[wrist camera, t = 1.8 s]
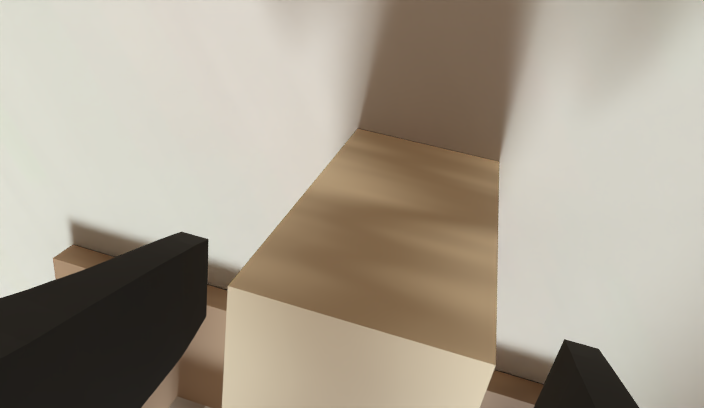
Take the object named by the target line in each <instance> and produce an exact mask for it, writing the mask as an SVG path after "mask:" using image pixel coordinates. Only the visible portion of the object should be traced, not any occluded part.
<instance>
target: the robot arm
mask: <svg viewBox="0 0 704 408" xmlns="http://www.w3.org/2000/svg"><path fill="white" fill-rule="evenodd" d="M207 274H208V239H205V238H202V237H198V236H195V235H191V234H188V233H184V232H180V233H177V234H174V235H171V236H168V237H165V238H163V239H160V240H157V241H155V242H152V243H150V244H147V245H145V246H142V247H140V248H137V249H135V250H132V251H130V252H127V253H125V254H122V255H120V256H117V257H115V258H112V259H110V260H107V261H105V262H102V263H100V264H97V265H95V266H92V267H89V268H87V269H84V270H82V271H79V272H76V273H73V274H70V275H68V276H65V277H62V278H59V279H56V280H53V281H51V282H48V283H45V284H42V285H39V286H37V287H34V288H31V289H28V290H25V291H22V292H19V293H16V294H13V295H9V296H6V297H3V298H0V408H141V407H142V406H143V405H144V404H145V402H146V401H147V400H148V399H149V397H150V396H151V395H152V394H153V392H154V391H155V390H156V389H157V388H158V386H159V385H160V384H161V382H162V381H163V380H164V379H165V377H166V376H167V375H168V374H169V372H170V371H171V370H172V369H173V367H174V366H175V365H176V364H177V362H178V361H179V360H180V358H181V357H182V356H183V354H184V353H185V351H186V349H187V348H188V346H189V345H190V343H191V341H192V340H193V338H194V337H195V335H196V333H197V331H198V330H199V328H200V326H201V325H202V323H203V321H204V320H205V318H206V314H207ZM534 408H639V407H638V405H637V404H636V402H635V401H634V399H633V398H632V396H631V395H630V394H629V392H628V391H627V389H626V388H625V386H624V385H623V383H622V382H621V380H620V379H619V377H618V376H617V375H616V373H615V372H614V370H613V369H612V367H611V366H610V364H609V363H608V361H607V360H606V359H605V357H604V356H603V354H602V353H601V352H600V350H599V349H597V348H593V347H590V346H586V345H583V344H579V343H576V342H572V341H568V340H565V339H564V341H563V344H562V346H561V348H560V350H559V352H558V355H557V357H556V359H555V361H554V363H553V366H552V368H551V370H550V372H549V375H548V377H547V379H546V381H545V383H544V386H543V388H542V390H541V392H540V395H539V397H538V399H537V401H536V403H535V406H534Z"/></svg>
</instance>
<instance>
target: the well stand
mask: <svg viewBox="0 0 704 408" xmlns="http://www.w3.org/2000/svg"><path fill="white" fill-rule="evenodd" d="M112 258H115V257H113V256H109V255H106V254H103V253H99V252H96V251H92V250H89V249H86V248H82V247H79V246H76V245H72V246H70V247H69V248H67V249H66V250H64V251H63V252H61V253H60V254H58V255H57V256H56V257H54V258H53V263H54V270H55V277H56V279H59V278H62V277H65V276H68V275H70V274H73V273H76V272H79V271H82V270H84V269H87V268H89V267H92V266H95V265H97V264H100V263H102V262H105V261H107V260H110V259H112ZM227 292H228V291H227V290H224V289H220V288H217V287H213V286H210V285H207V314H206V318H205V320H204V321H203V323H202V325H201V326H200V328H199V330H198V331H197V333H196V335H195V337H194V338H193V340H192V341H191V343H190V345H189V346H188V348H187V349H186V351H185V353H184V354H183V356H182V357H181V358H180V360H179V361H178V362H177V364H176V365H175V366H174V367H173V369H172V370H171V371H170V372H169V374H168V375H167V376H166V377H165V379H164V380H163V381H162V382H161V384H160V385H159V386H158V388H157V389H156V390H155V391H154V392H153V394H152V395H151V396H150V397H149V399H148V400H147V401H146V402H145V404H144V405H143V406H142V407H141V408H222V394H223V374H224V353H225V333H226V312H227ZM543 386H544V385H543V384H539V383H536V382H533V381H529V380H526V379H523V378H519V377H516V376H513V375H509V374H506V373H502V372H499V371H496V370H494V371H493V374H492V377H491V379H490V382H489V385H488V387H487V390H486V392H485V395H484V398H483V400H482V403H481V406H480V408H534V406H535V403H536V401H537V399H538V397H539V395H540V392H541V390H542V388H543Z"/></svg>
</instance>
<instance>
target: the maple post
mask: <svg viewBox="0 0 704 408" xmlns="http://www.w3.org/2000/svg"><path fill="white" fill-rule="evenodd" d="M498 203H499V162H498V161H494V160H490V159H486V158H481V157H477V156H473V155H469V154H464V153H460V152H456V151H452V150H447V149H443V148H439V147H434V146H430V145H426V144H422V143H417V142H413V141H409V140H405V139H400V138H396V137H392V136H388V135H383V134H379V133H375V132H370V131H366V130H362V129H357V130H356V131H355V133H354V134H353V135H352V136H351V137H350V139H349V140H348V141H347V142H346V143H345V145H344V146H343V147H342V148H341V150H340V151H339V152H338V153H337V154H336V156H335V157H334V158H333V159H332V160H331V162H330V163H329V164H328V165H327V166H326V168H325V169H324V170H323V171H322V173H321V174H320V175H319V176H318V177H317V179H316V180H315V181H314V182H313V183H312V185H311V186H310V187H309V188H308V189H307V191H306V192H305V193H304V194H303V196H302V197H301V198H300V199H299V200H298V202H297V203H296V204H295V205H294V206H293V208H292V209H291V210H290V211H289V212H288V214H287V215H286V216H285V217H284V219H283V220H282V221H281V222H280V223H279V225H278V226H277V227H276V228H275V229H274V231H273V232H272V233H271V234H270V235H269V237H268V238H267V239H266V240H265V242H264V243H263V244H262V245H261V246H260V248H259V249H258V250H257V251H256V252H255V254H254V255H253V256H252V257H251V258H250V260H249V261H248V262H247V263H246V265H245V266H244V267H243V268H242V269H241V271H240V272H239V273H238V274H237V275H236V277H235V278H234V279H233V280H232V281H231V283H230V284H229V285H228V292H227V312H226V333H225V353H224V374H223V394H222V408H480V406H481V403H482V400H483V398H484V395H485V392H486V390H487V387H488V385H489V382H490V379H491V377H492V374H493V371H494V369H495V366H496V323H497V263H498Z"/></svg>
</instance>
